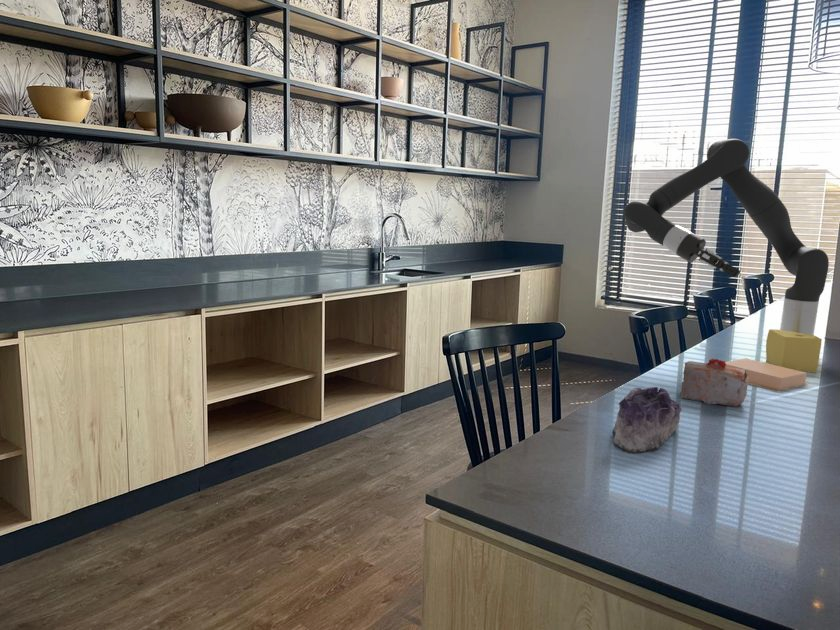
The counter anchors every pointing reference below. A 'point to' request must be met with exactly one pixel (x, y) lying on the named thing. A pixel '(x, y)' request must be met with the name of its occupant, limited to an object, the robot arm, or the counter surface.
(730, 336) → the counter surface
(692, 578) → the counter surface
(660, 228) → the robot arm
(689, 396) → the food item
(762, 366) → the tile
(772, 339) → the cheese
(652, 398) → the geode
